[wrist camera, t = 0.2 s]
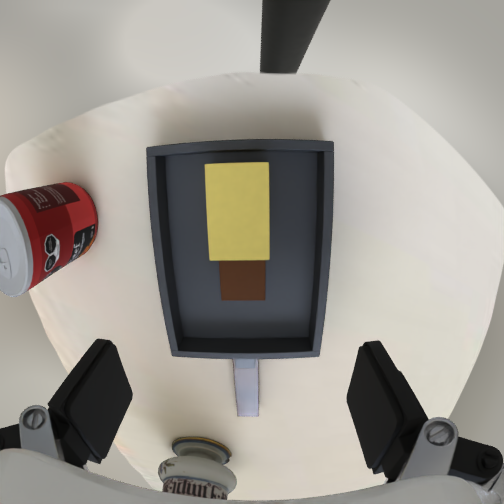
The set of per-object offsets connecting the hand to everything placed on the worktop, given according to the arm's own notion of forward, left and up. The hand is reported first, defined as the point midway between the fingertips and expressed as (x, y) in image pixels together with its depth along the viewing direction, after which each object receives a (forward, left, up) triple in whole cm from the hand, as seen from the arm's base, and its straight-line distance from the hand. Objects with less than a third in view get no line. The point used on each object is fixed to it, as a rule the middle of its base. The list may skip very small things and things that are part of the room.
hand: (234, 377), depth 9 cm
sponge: (-4, 0, -16) cm, 16 cm away
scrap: (+2, 0, -16) cm, 16 cm away
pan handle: (+16, 0, -16) cm, 23 cm away
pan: (0, 0, -16) cm, 16 cm away
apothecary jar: (+34, -8, -17) cm, 39 cm away
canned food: (-4, -18, -17) cm, 25 cm away
